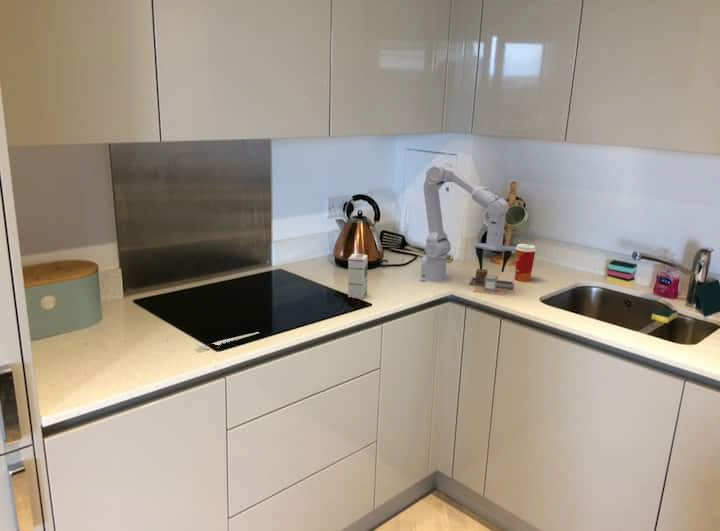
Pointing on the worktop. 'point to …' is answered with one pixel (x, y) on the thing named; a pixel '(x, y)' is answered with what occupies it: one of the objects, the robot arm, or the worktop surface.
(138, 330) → the worktop surface
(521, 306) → the worktop surface
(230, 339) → the fork
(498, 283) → the parts tray
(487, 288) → the labelled block
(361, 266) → the syrup box
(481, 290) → the rubber mat
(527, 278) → the paper cup
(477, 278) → the walnut block
